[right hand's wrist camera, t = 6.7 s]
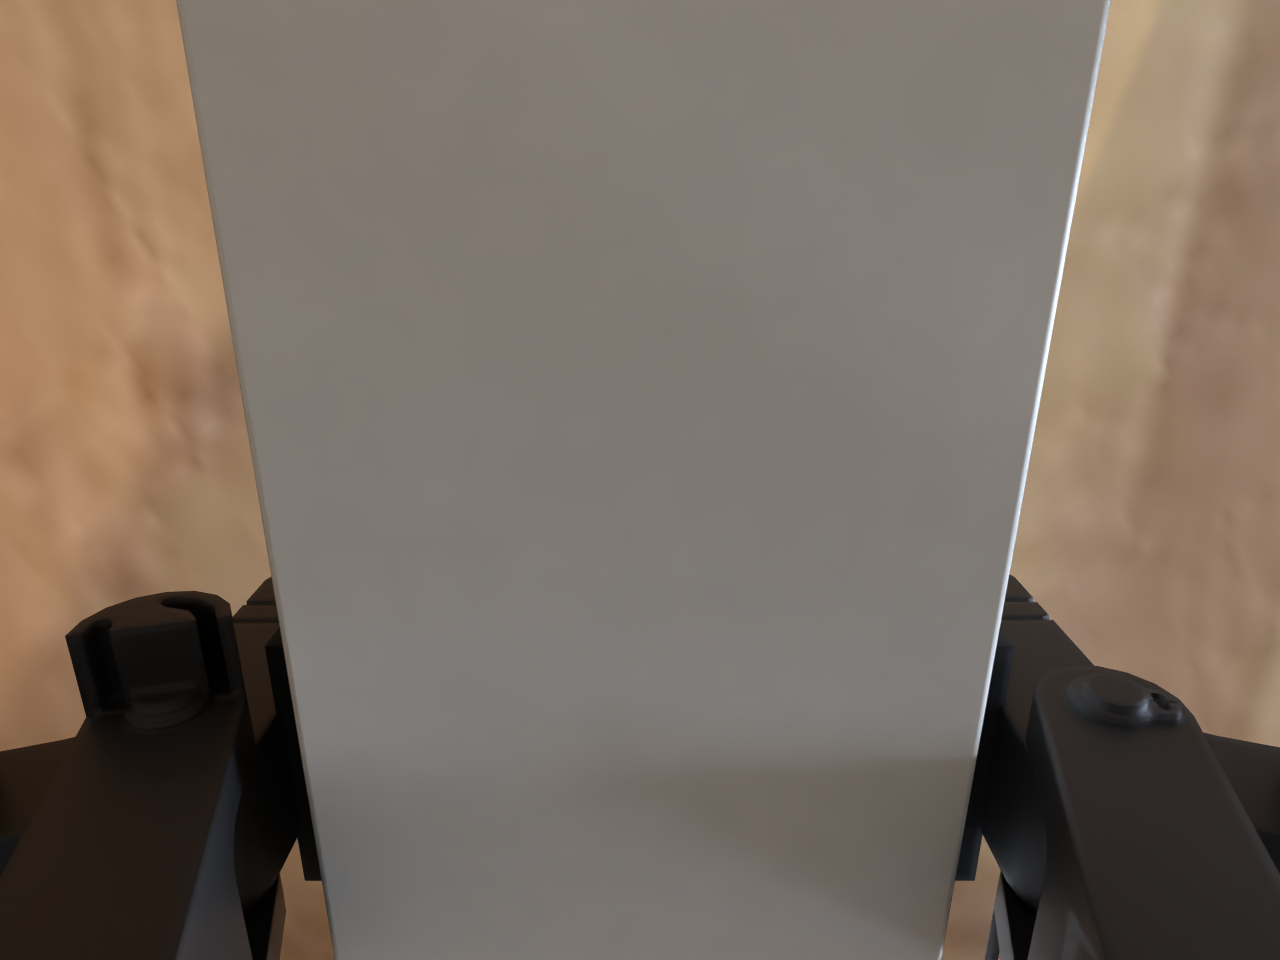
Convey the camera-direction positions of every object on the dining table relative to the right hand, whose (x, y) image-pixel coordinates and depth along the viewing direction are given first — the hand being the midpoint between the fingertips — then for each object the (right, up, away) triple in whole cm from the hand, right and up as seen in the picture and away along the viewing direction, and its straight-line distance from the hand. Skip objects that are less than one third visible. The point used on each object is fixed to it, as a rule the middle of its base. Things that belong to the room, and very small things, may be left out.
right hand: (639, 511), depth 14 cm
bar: (0, +20, -7) cm, 21 cm away
